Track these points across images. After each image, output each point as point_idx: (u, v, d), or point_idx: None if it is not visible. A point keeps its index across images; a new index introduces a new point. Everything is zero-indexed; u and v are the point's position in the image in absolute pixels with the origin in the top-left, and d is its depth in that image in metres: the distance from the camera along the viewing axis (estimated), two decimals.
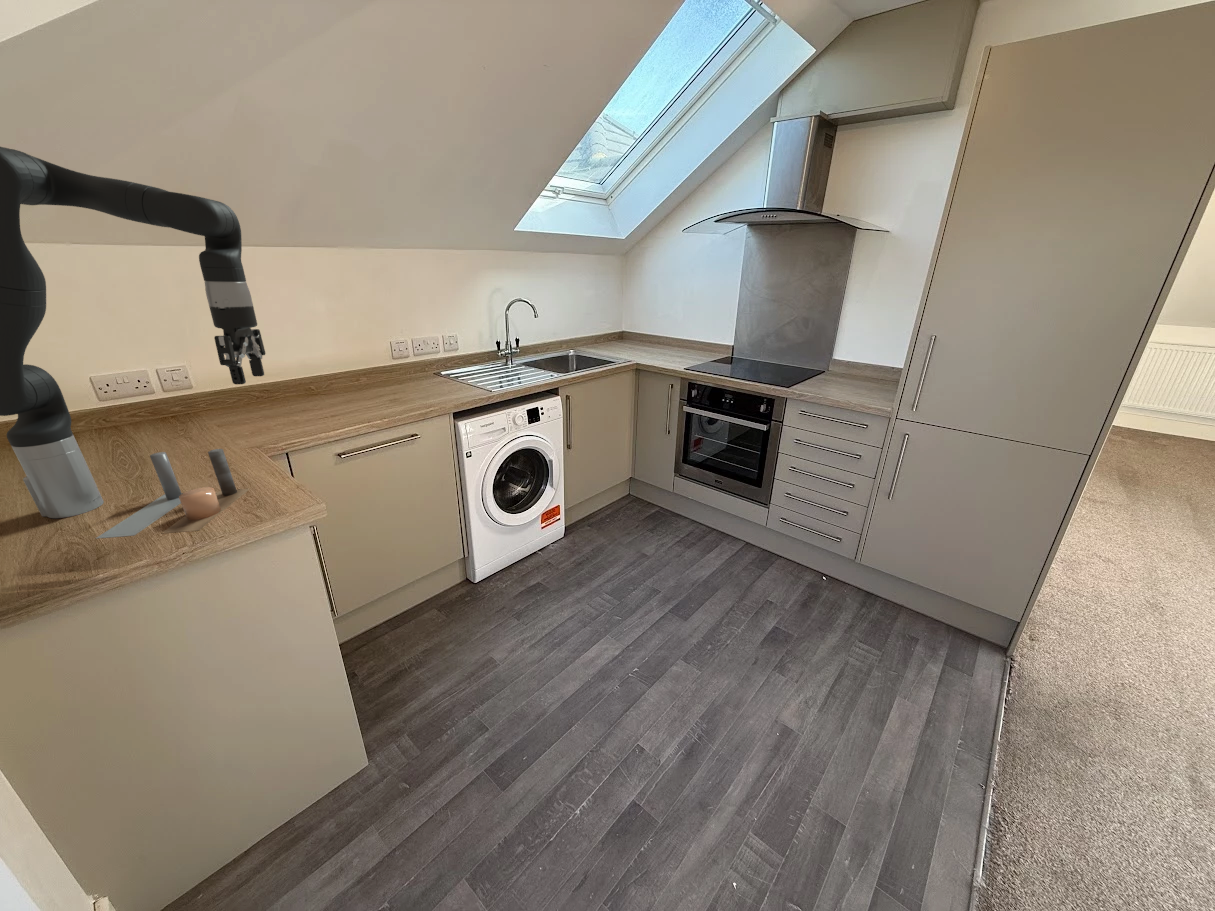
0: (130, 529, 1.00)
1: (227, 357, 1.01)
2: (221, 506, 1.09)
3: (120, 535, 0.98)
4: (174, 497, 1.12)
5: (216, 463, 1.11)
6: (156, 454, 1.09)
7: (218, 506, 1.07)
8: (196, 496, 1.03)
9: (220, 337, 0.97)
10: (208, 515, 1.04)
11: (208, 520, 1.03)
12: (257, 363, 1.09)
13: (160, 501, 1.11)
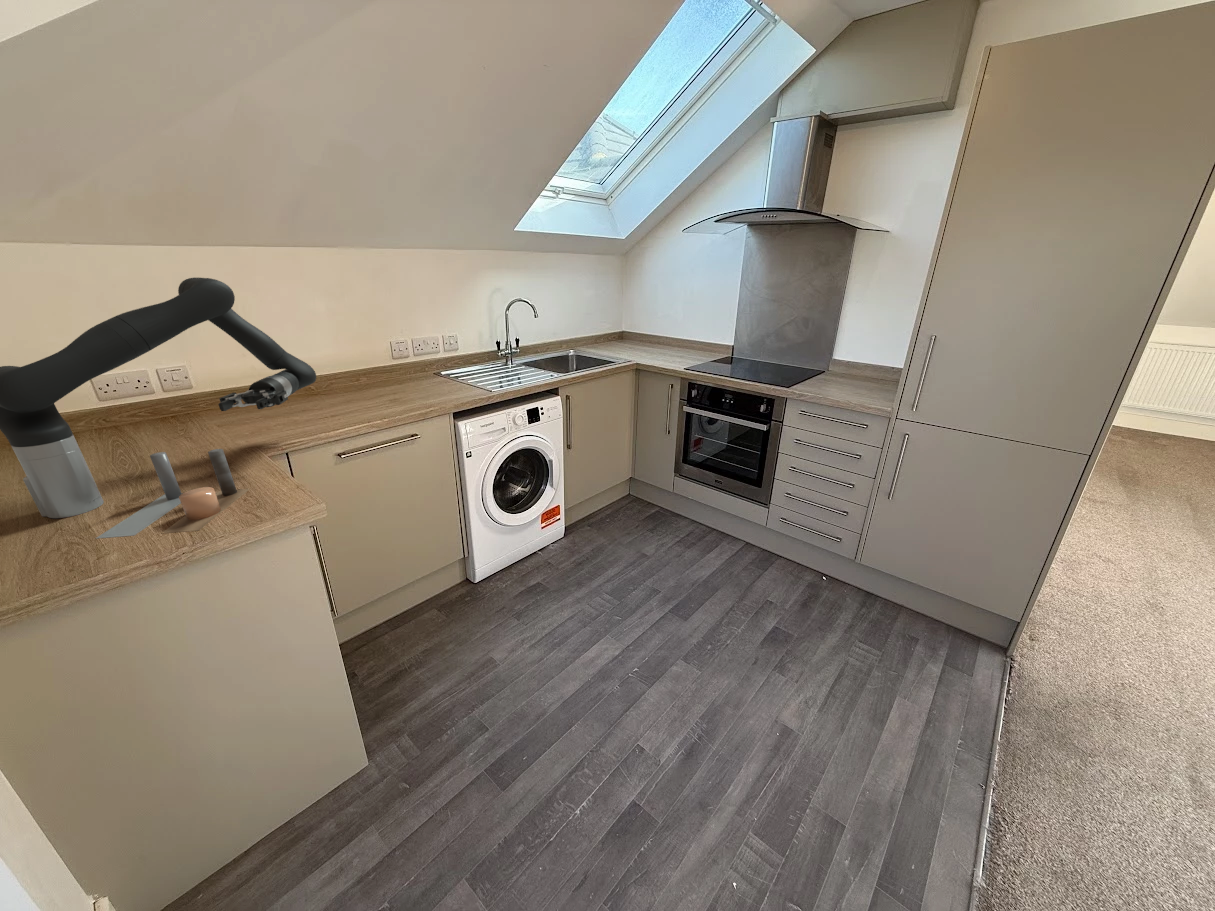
0: (130, 529, 1.00)
1: (269, 396, 1.27)
2: (221, 506, 1.09)
3: (120, 535, 0.98)
4: (174, 497, 1.12)
5: (216, 463, 1.11)
6: (156, 454, 1.09)
7: (218, 506, 1.07)
8: (196, 496, 1.03)
9: (286, 394, 1.31)
10: (208, 515, 1.04)
11: (208, 520, 1.03)
12: (230, 405, 1.24)
13: (160, 501, 1.11)
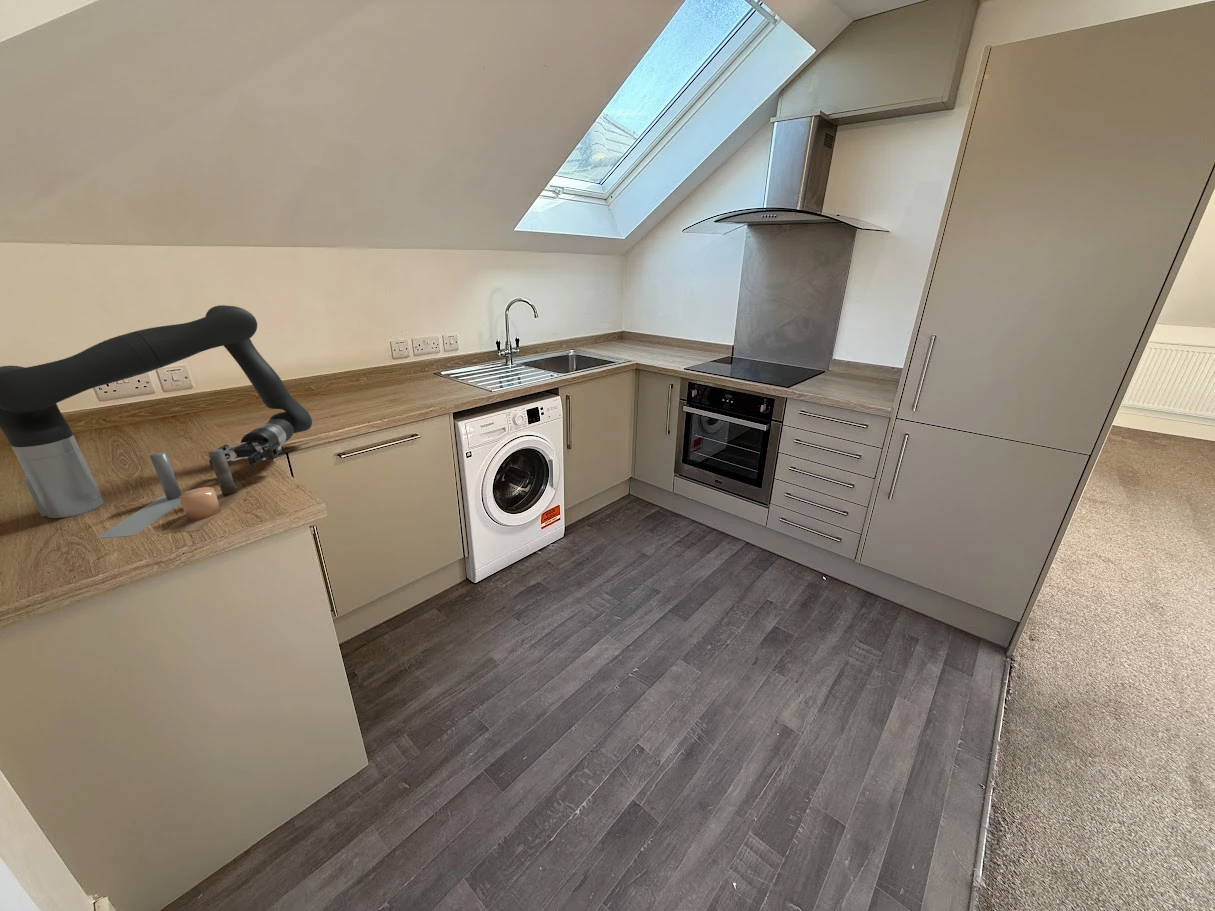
0: (130, 529, 1.00)
1: None
2: (221, 506, 1.09)
3: (120, 535, 0.98)
4: (174, 497, 1.12)
5: (216, 463, 1.11)
6: (156, 454, 1.09)
7: (218, 506, 1.07)
8: (196, 496, 1.03)
9: (280, 446, 1.27)
10: (208, 515, 1.04)
11: (208, 520, 1.03)
12: None
13: (160, 501, 1.11)
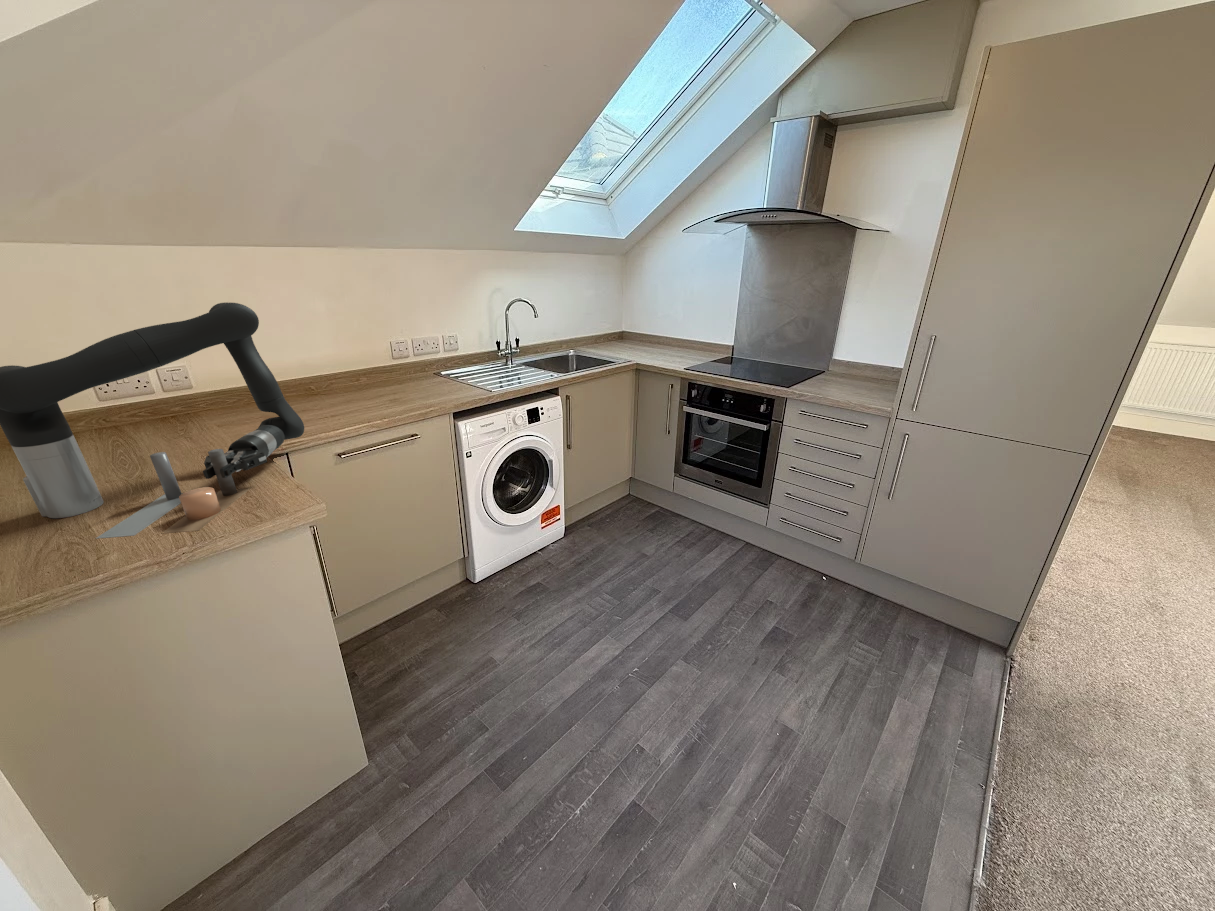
0: (130, 529, 1.00)
1: (239, 460, 1.15)
2: (221, 506, 1.09)
3: (120, 535, 0.98)
4: (174, 497, 1.12)
5: (216, 463, 1.11)
6: (156, 454, 1.09)
7: (218, 506, 1.07)
8: (196, 496, 1.03)
9: (265, 457, 1.20)
10: (208, 515, 1.04)
11: (208, 520, 1.03)
12: None
13: (160, 501, 1.11)
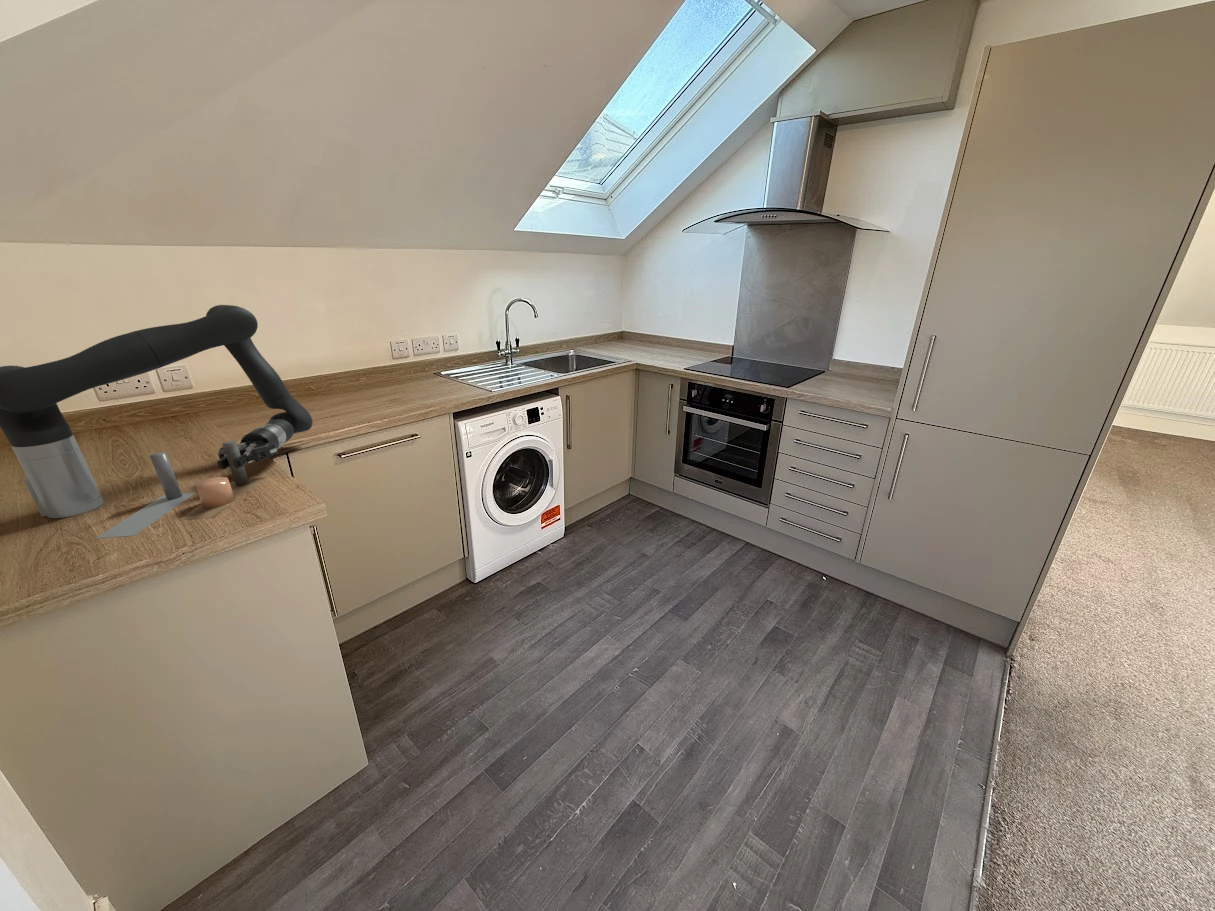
0: (130, 529, 1.00)
1: (251, 452, 1.20)
2: (235, 495, 1.14)
3: (120, 535, 0.98)
4: (174, 497, 1.12)
5: (229, 455, 1.16)
6: (156, 454, 1.09)
7: (232, 495, 1.12)
8: (211, 485, 1.08)
9: (276, 449, 1.25)
10: (223, 503, 1.09)
11: (223, 508, 1.08)
12: None
13: (160, 501, 1.11)
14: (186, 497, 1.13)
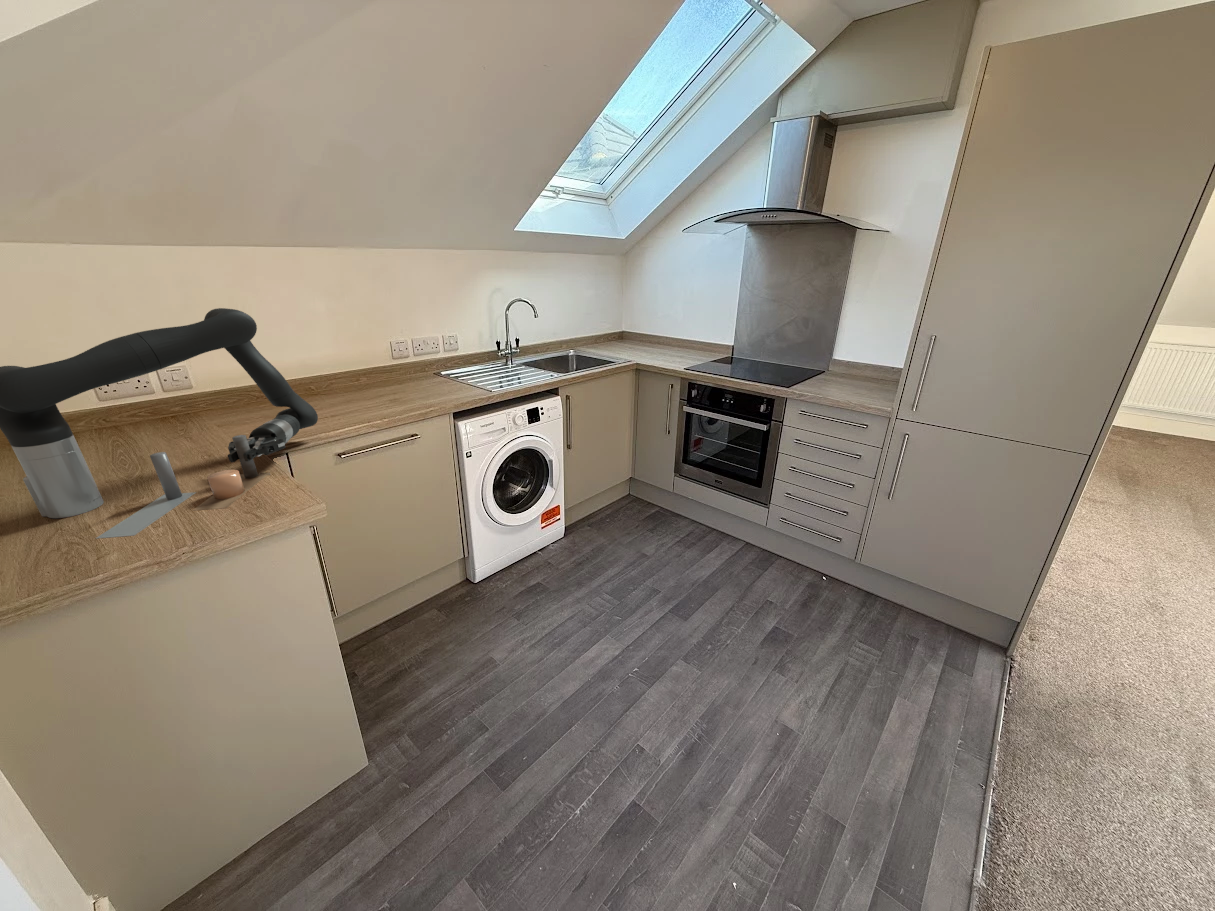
0: (130, 529, 1.00)
1: (260, 446, 1.24)
2: (245, 487, 1.18)
3: (120, 535, 0.98)
4: (174, 497, 1.12)
5: (239, 448, 1.20)
6: (156, 454, 1.09)
7: (242, 487, 1.16)
8: (223, 477, 1.12)
9: (283, 443, 1.29)
10: (234, 495, 1.13)
11: (234, 499, 1.12)
12: None
13: (160, 501, 1.11)
14: (186, 497, 1.13)
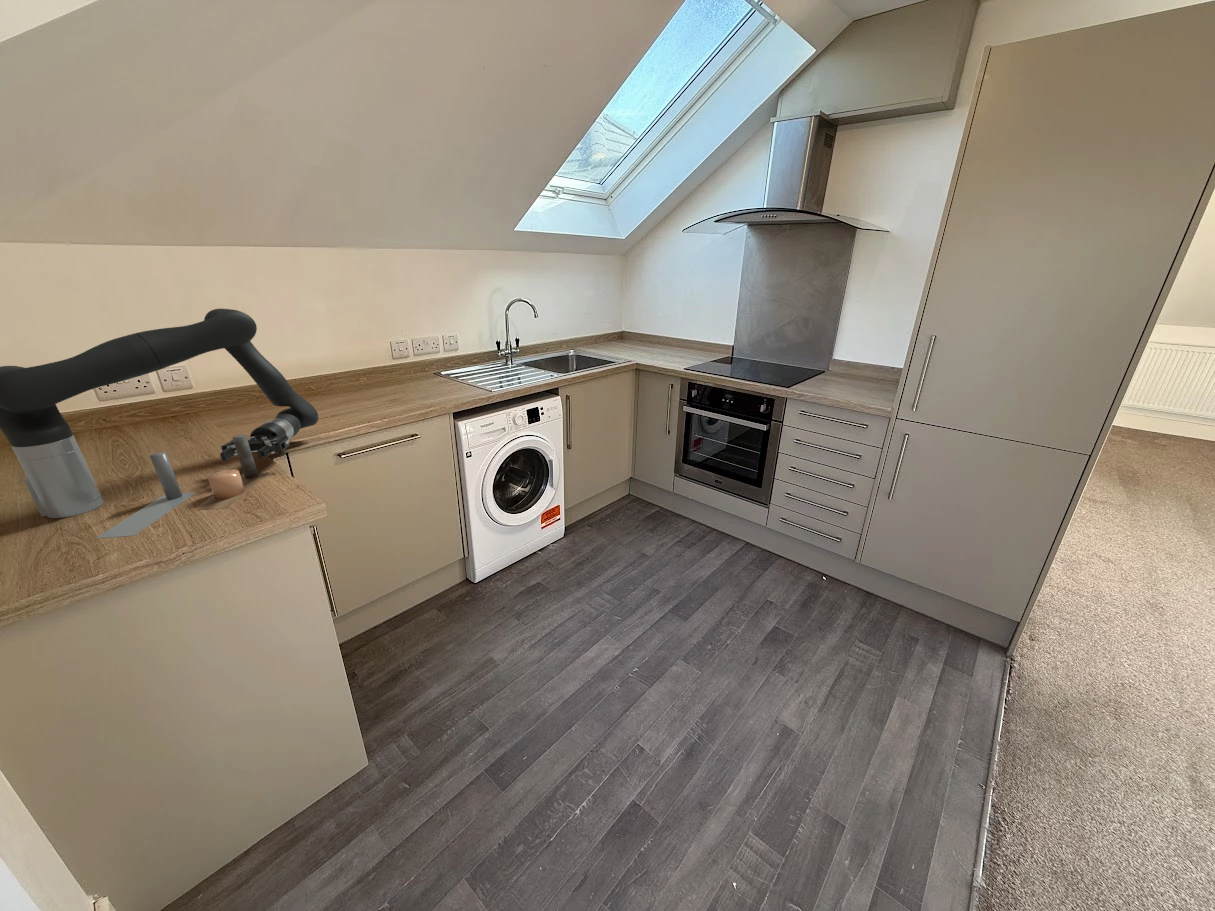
0: (130, 529, 1.00)
1: None
2: (245, 487, 1.18)
3: (120, 535, 0.98)
4: (174, 497, 1.12)
5: (240, 448, 1.20)
6: (156, 454, 1.09)
7: (242, 487, 1.16)
8: (223, 476, 1.12)
9: (288, 440, 1.31)
10: (234, 495, 1.13)
11: (234, 499, 1.12)
12: (231, 454, 1.23)
13: (160, 501, 1.11)
14: (186, 497, 1.13)
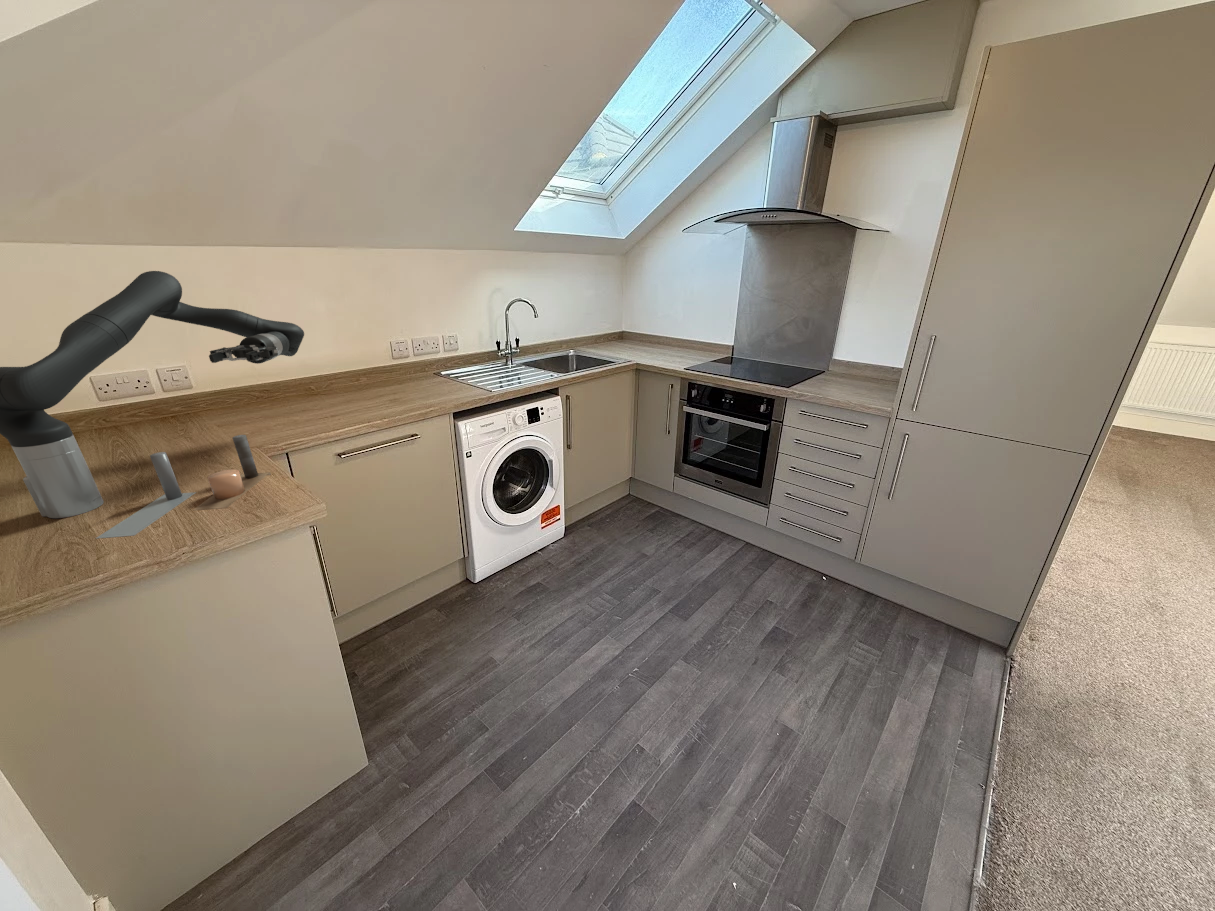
0: (130, 529, 1.00)
1: (259, 350, 1.29)
2: (245, 487, 1.18)
3: (120, 535, 0.98)
4: (174, 497, 1.12)
5: (240, 448, 1.20)
6: (156, 454, 1.09)
7: (242, 487, 1.16)
8: (223, 477, 1.12)
9: (276, 350, 1.33)
10: (234, 495, 1.13)
11: (234, 499, 1.12)
12: (220, 358, 1.26)
13: (160, 501, 1.11)
14: (186, 497, 1.13)
